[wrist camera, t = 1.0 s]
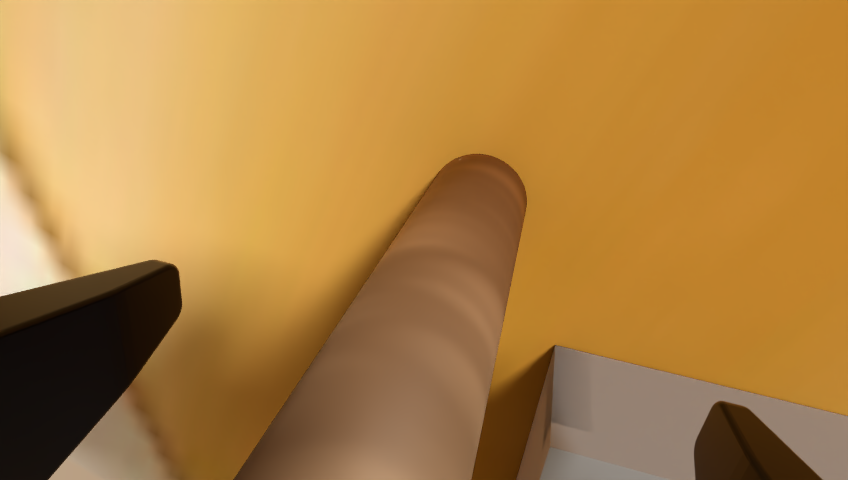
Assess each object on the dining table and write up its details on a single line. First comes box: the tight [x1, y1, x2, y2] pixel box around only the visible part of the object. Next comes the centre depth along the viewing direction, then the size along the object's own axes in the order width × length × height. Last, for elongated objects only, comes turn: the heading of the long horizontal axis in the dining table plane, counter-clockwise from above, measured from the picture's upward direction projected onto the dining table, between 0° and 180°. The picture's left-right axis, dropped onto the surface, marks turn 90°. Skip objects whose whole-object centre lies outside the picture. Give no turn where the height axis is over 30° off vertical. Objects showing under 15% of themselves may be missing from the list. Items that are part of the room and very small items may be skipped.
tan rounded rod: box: [234, 154, 527, 480], centre depth 10 cm, size 3×3×11 cm
